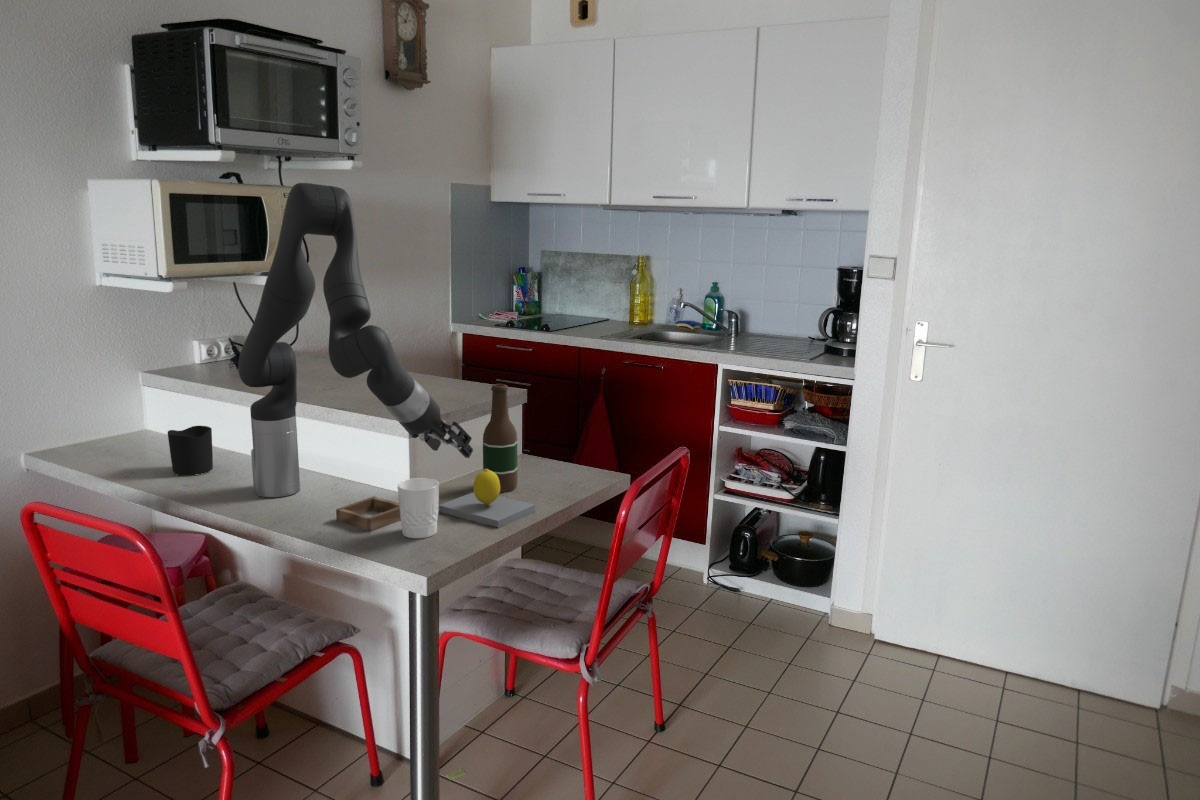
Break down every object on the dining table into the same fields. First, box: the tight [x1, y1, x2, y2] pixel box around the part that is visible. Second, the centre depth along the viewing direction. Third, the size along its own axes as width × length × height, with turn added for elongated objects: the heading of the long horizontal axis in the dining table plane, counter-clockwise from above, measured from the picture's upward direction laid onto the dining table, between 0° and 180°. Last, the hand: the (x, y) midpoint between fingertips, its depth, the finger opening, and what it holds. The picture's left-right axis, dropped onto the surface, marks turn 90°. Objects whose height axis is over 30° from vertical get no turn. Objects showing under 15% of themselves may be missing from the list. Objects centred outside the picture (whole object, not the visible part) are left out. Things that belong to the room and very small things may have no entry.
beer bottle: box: [482, 383, 518, 494], centre depth 198 cm, size 8×8×24 cm
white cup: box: [397, 477, 440, 539], centre depth 172 cm, size 8×8×10 cm
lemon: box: [473, 469, 501, 506], centre depth 183 cm, size 6×6×8 cm
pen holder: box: [167, 425, 214, 476], centre depth 208 cm, size 9×9×10 cm
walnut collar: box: [335, 495, 401, 532], centre depth 179 cm, size 10×10×2 cm
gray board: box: [438, 491, 536, 529], centre depth 185 cm, size 16×12×2 cm
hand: (453, 450), depth 176 cm, fingers open, 8 cm apart
